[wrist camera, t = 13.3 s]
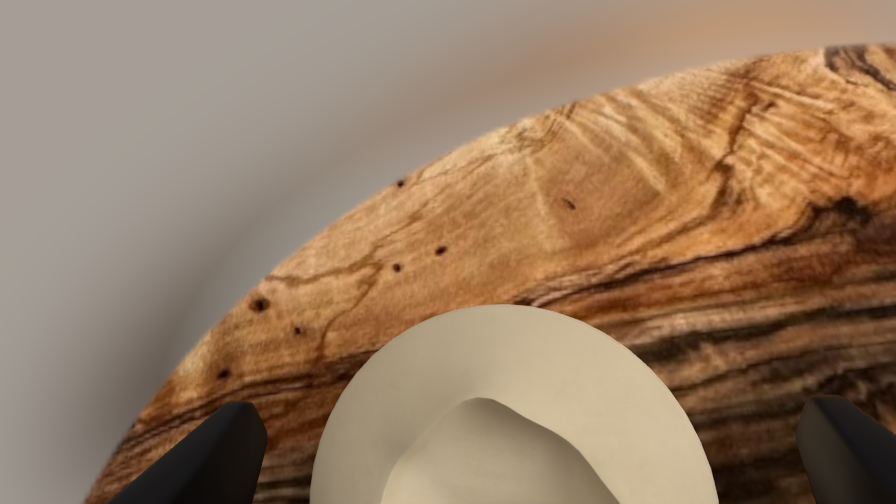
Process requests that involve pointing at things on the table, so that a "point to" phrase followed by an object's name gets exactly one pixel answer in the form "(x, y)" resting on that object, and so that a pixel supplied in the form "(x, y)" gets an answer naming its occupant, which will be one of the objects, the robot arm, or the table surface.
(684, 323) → the table surface
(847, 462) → the robot arm
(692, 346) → the table surface
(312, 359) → the table surface
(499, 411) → the candle
